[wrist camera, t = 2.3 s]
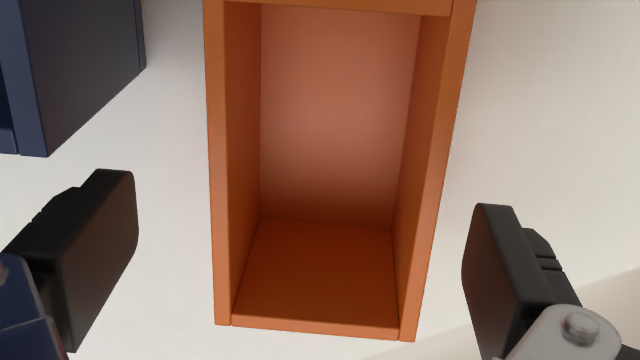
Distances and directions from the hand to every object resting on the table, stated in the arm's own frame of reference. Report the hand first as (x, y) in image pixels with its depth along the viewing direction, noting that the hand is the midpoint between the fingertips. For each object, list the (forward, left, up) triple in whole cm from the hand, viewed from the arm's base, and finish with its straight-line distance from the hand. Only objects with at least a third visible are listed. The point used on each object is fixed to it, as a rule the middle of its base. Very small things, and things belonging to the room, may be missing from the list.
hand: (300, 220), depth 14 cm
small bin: (-1, 0, -8) cm, 7 cm away
